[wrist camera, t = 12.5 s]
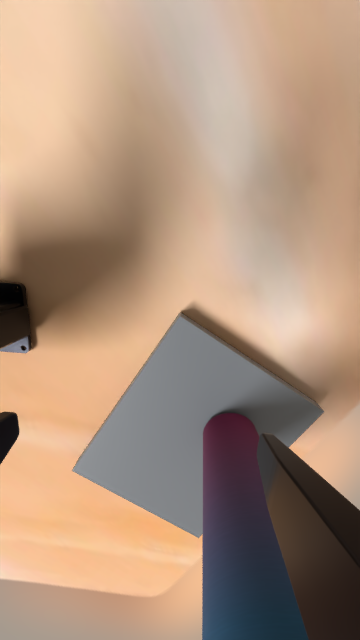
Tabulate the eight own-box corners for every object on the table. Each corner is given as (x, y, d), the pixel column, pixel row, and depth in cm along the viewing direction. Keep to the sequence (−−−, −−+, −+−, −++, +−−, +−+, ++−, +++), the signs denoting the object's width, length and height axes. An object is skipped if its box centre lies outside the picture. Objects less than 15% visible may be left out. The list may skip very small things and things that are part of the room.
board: (198, 522, 27) (198, 537, 25) (78, 458, 25) (71, 470, 24) (315, 401, 22) (324, 411, 21) (180, 311, 20) (179, 315, 19)
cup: (271, 452, 22) (419, 826, 8) (204, 466, 23) (229, 823, 9) (257, 396, 20) (420, 761, 6) (184, 414, 21) (175, 767, 7)
